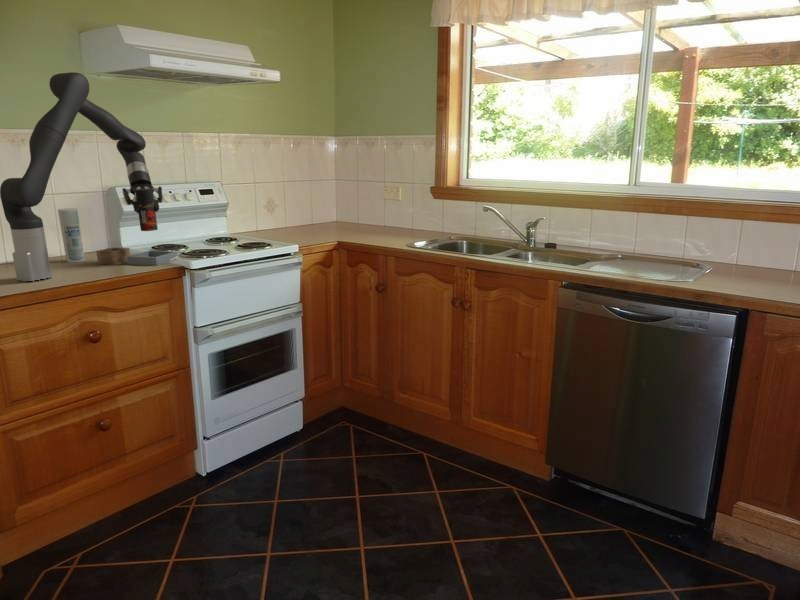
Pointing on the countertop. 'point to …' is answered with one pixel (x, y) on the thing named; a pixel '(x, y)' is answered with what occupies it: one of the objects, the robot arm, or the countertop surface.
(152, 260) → the tray
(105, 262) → the brown square block
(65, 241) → the spray can
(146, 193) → the deodorant
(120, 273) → the countertop surface
